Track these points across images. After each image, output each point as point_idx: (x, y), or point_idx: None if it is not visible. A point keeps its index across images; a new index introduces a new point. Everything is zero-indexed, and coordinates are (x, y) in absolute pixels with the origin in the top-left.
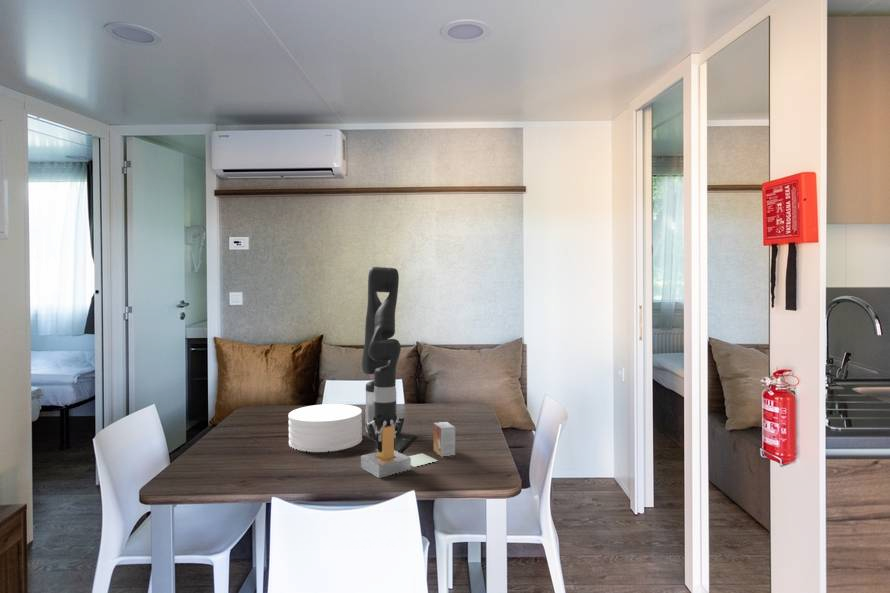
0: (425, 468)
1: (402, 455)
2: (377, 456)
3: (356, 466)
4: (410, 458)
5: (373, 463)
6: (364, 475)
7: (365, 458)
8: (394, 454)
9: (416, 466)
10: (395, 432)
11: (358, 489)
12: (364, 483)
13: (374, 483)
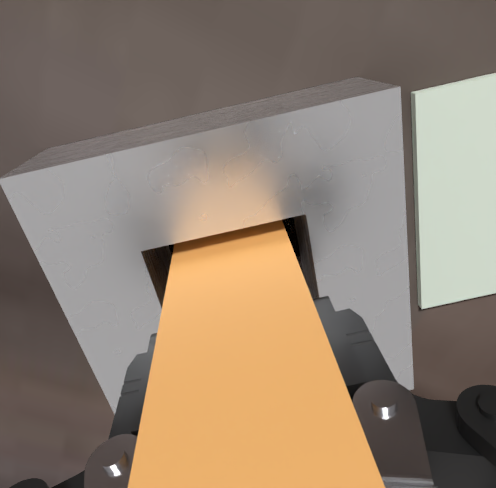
0: (470, 335)
1: (389, 320)
2: (171, 263)
3: (6, 97)
4: (410, 386)
5: (104, 383)
6: (58, 313)
7: (44, 268)
8: (340, 272)
9: (439, 303)
10: (461, 486)
11: (4, 474)
12: (45, 421)
13: (103, 435)
